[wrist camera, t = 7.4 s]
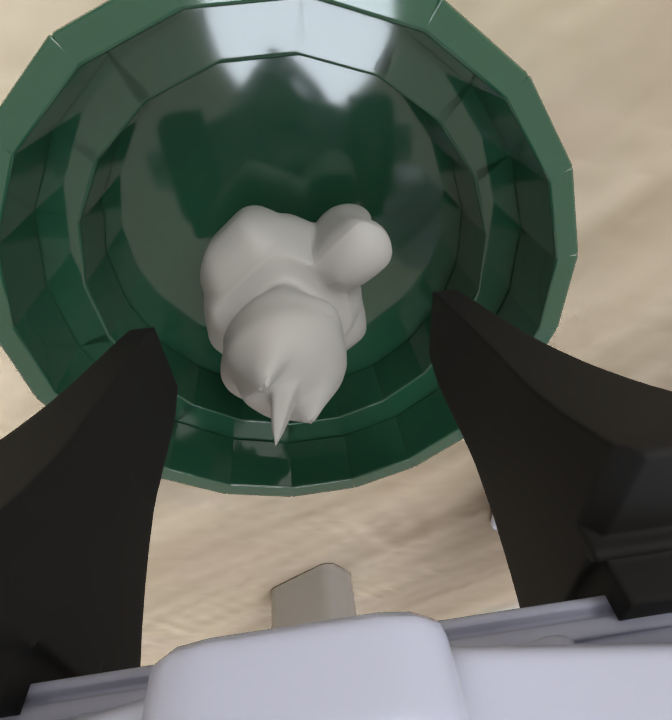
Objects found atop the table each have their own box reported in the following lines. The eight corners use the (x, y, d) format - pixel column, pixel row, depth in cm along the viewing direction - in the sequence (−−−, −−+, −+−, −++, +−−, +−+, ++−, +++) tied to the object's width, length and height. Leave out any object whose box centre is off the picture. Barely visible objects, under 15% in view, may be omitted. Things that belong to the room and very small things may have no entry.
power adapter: (355, 576, 32) (391, 814, 23) (295, 604, 34) (305, 837, 24) (328, 561, 30) (355, 812, 21) (266, 591, 32) (266, 837, 23)
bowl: (474, 379, 21) (519, 464, 18) (146, 423, 21) (119, 522, 17) (541, -58, 12) (674, -82, 8) (-61, -1, 11) (-233, 2, 7)
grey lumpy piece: (165, 265, 16) (98, 446, 9) (305, 119, 13) (339, 231, 7) (280, 352, 18) (287, 535, 12) (412, 245, 16) (502, 402, 10)
